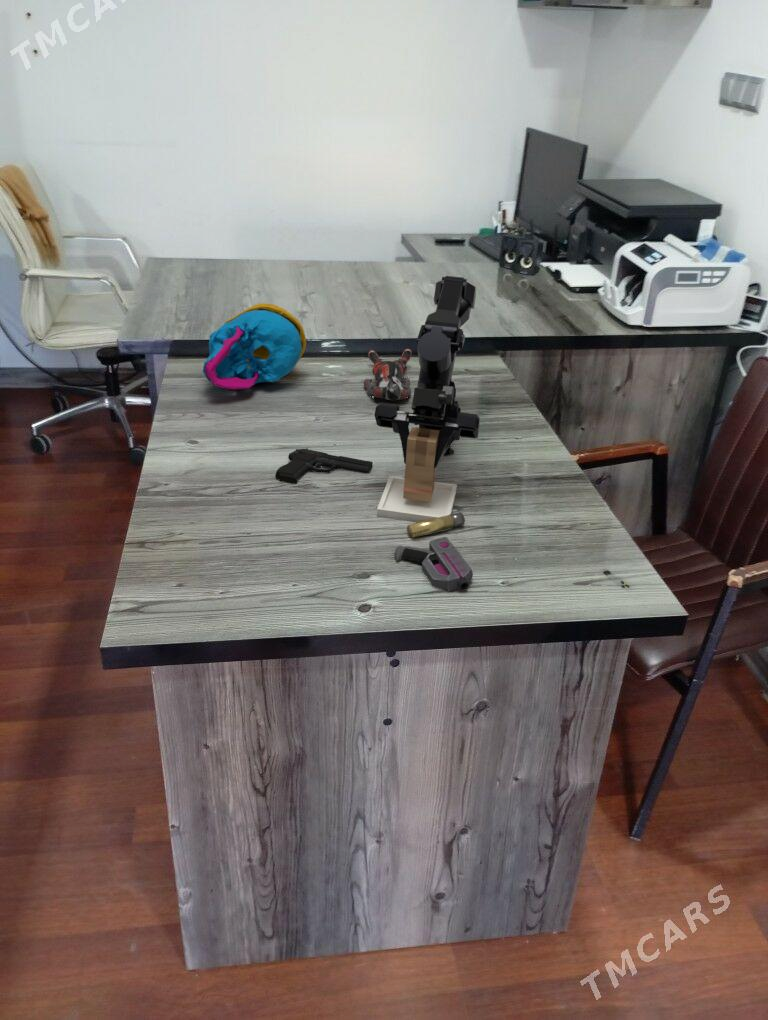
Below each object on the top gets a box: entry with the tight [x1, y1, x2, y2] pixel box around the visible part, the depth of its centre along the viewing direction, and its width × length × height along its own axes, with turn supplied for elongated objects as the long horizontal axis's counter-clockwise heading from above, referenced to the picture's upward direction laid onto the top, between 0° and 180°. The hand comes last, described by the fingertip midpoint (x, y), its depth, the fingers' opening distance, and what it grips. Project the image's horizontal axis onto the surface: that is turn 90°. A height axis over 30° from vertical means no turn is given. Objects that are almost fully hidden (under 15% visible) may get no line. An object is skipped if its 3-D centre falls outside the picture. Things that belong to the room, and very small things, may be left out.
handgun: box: [274, 448, 374, 485], centre depth 162 cm, size 3×17×12 cm
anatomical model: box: [202, 302, 307, 390], centre depth 195 cm, size 18×25×25 cm
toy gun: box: [393, 536, 474, 592], centre depth 135 cm, size 14×3×10 cm
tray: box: [376, 475, 458, 523], centre depth 154 cm, size 13×13×2 cm
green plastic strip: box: [602, 569, 630, 589], centre depth 136 cm, size 6×1×2 cm
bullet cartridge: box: [406, 511, 466, 539], centre depth 146 cm, size 10×2×2 cm, turn 118°
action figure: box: [363, 348, 412, 402], centre depth 199 cm, size 10×11×30 cm
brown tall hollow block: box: [403, 426, 439, 502], centre depth 150 cm, size 5×5×12 cm
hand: (420, 465), depth 149 cm, fingers closed on brown tall hollow block, 5 cm apart
